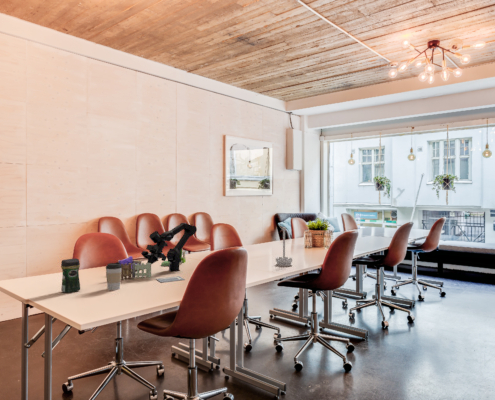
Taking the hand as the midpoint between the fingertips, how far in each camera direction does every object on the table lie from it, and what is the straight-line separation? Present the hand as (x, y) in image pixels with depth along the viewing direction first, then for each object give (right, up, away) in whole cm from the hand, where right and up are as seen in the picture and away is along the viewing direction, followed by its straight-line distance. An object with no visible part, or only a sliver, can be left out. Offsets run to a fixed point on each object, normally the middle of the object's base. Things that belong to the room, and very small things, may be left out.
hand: (147, 265), depth 258 cm
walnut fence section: (-14, -8, -8) cm, 18 cm away
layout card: (+17, -8, -8) cm, 20 cm away
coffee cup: (-11, -8, -32) cm, 35 cm away
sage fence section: (-3, -7, -4) cm, 9 cm away
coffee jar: (-34, -8, -38) cm, 52 cm away
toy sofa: (-16, -8, +15) cm, 24 cm away
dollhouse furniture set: (+9, -7, +51) cm, 52 cm away
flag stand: (+96, -7, +45) cm, 106 cm away
